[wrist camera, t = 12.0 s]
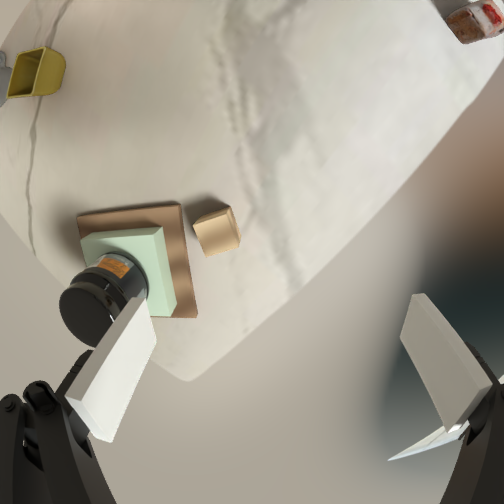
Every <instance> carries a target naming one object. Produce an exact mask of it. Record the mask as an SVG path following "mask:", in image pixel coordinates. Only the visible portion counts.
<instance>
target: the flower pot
mask: <svg viewBox="0 0 504 504" xmlns="http://www.w3.org/2000/svg"><path fill="white" fill-rule="evenodd" d="M65 68H66V62H65V59H64V57H63V56H62V55H61V54H60V53H58V52H56V51H54V50H52V49H50V48H48V47H46V46H43V47H39V48H36V49H32V50H28V51H24V52H20V53H18V54H17V57H16V60H15V63H14V67H13V71H12V74H11V78H10V82H9V86H8V90H7V95H6V98H7V99H10V98H19V97H30V96H43V95H50V94H53V93H55V92H56V91H57V90H59V88H60V86H61V82H62V78H63V75H64V71H65Z"/></svg>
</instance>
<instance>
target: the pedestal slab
mask: <svg viewBox="0 0 504 504" xmlns="http://www.w3.org/2000/svg"><path fill="white" fill-rule="evenodd" d="M80 243H81V247H82V251H83V255H84V259H85V262H86V266H87V267H88V266H90V265H91V264H92V263H93V262H94V261H96V260H97V259H98V257H100V256H101V255H103V254H104V253H107V252H112V251H117V252H123V253H125V254H128V255H129V256H131V257H133V258H134V259H135V260H136V261H137V262H138V263H139V264H140V265H141V266H142V267H143V269H144V270H145V272H146V274H147V277H148V280H149V286H150V291H149V296H148V299H147V301H146V302H147V306H148V310H149V314H150V316H167V317H171V315H172V313H173V311H174V309H175V307H176V305H177V301H176V297H175V292H174V287H173V282H172V277H171V272H170V267H169V262H168V256H167V251H166V245H165V239H164V233H163V227H150V228H137V229H125V230H114V231H103V232H93V233H91V234H89V235H87V236H86V237H84V238H83V239H81V240H80Z"/></svg>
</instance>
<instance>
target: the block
mask: <svg viewBox="0 0 504 504" xmlns="http://www.w3.org/2000/svg"><path fill="white" fill-rule="evenodd" d="M193 227H194V230H195V232H196V235H197V237H198V240H199V242H200V245H201V247H202V249H203V252H204V254H205V257H208V256H212V255H215V254H218V253H222V252H225V251H228V250H232V249H235V248H238V247H239V243H240V239H241V234H240V231H239V228H238V226H237V223H236V220H235V217H234V215H233V212H232V209H231V206H230V207H227V208H224V209H221V210H218V211H215V212H212V213H209V214H206V215H203V216H200V217H199V219H198V220H197V221H196V222H195V223H194V225H193Z"/></svg>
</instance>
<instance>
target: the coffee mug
mask: <svg viewBox="0 0 504 504" xmlns="http://www.w3.org/2000/svg"><path fill="white" fill-rule="evenodd" d="M5 60H6V56H5V53H4V52H2V51H0V107H1V106H2V105H3V104H4V103H5V102H6V100H7V98H6V95H7V90H8V86H9V82H10V78H11V74H12V71H13V70H12V69H11V68H10V67H6V66H5Z"/></svg>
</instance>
